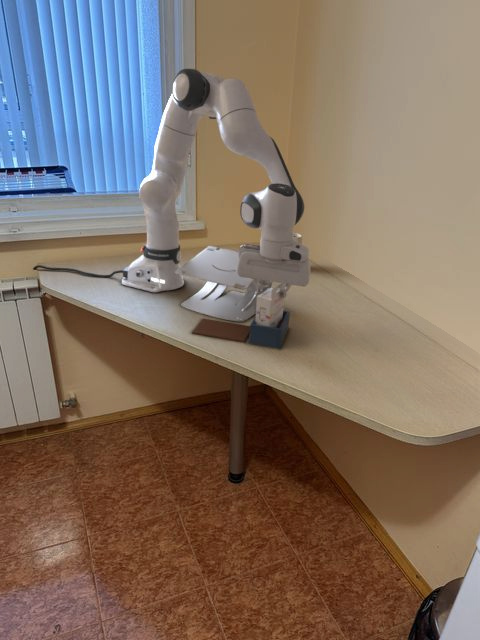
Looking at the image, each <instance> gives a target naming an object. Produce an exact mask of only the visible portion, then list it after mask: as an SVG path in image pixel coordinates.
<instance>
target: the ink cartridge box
mask: <svg viewBox="0 0 480 640" xmlns="http://www.w3.org/2000/svg"><path fill="white" fill-rule="evenodd" d="M285 285H286V284H284V283H279V284H278V285H276V286H275V287H271V288H269V289H268V290H266V291H265V292H263V293H262V294H260V295H258V296H257V304H256V313H255V316H256V320H255V325H262V326H268V327H274V328H280V326H281V324H282V318H283V310H284V308H285V307H284V306H285V299H286V298H281V297H280V295H281V294H280V293H281V290H285V289H286V287H285Z"/></svg>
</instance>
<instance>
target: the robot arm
mask: <svg viewBox="0 0 480 640" xmlns="http://www.w3.org/2000/svg"><path fill="white" fill-rule="evenodd" d="M252 99H253V98H252V97H251V94H250V92H249V90H248V88H247V85H245V83H244V81H242V80H240V79H239V78H233V77H231V78H227V79H224V78H223V77H221V76H218V75H216V74H214V73H209V72H206V71H205V72H204V71H200V70H198V69H195V68H183V69H181V70H179V71H178V72H177V73H176V75H175V76H174V78H173V81H172V84H171V96H170V98H169V99H168V101H167V104H166V106H165V109H164V111H163V114H162V118H161V122H160V124H159V128H158V129H159V130H158V133H157V137H156V140H155V144H154V155H153V163H152V169H151V172H150V174H149V175H148V176H146V177H145V178H144V179H143V180H142V182H141V184H140V187H139V190H138V196H139V197H138V198H139V200H140V202H141V205H142V211H143V215H144V219H145V228H146V243H145V244H144V245H143V246H142V247H141V248H140V252H141V253H143V254H142V255H140V256H138V257H137V258H136V259H135V260H134V261H132V262H130V264H129V265H127V266H125V268H124V269H119V270H115V271H113V272H111V273H109V274H97V273H92V272H87V271H83V270H80V269H75V268H70V267H69V268H68V267H51V266H47V265H46V266H45V265H42V264H39V265H38V264H37V265H35V266H34V267H33V268H32V270H37V269H38V268H40V269H44V270H48V271H68V272H75V273H79V274H82V275H86V276H91V277H96V278H113V276H114V275H116V274H122V279H121V285H123V286H126V287H132V288H135V289H139V290H142V291H146V292H150V293H160V292H165V291H173V290H177V289H179V288H182V287H183V286H184V285H185V281H184V278H183V275H180V274H177V273H175V271H176V270H177V269H179V268H180V267H181V260H182V259H181V258H182V252H181V245H180V222H179V220H178V215H177V210H176V209H177V208H176V199H177V198H178V197H179V196H180V194H181V191H182V188H183V185H184V180H185V176H186V171H187V168H188V167H187V165H188V161H189V158H190V154H191V151H192V149H193V148H192V147H193V144H194V140H195V137H196V134H197V130H198V126H199V124H200V121H201V119H203V118H204V117H208V118H209V119H210V120H216V123H217V127H218V130H219V135H220V138H221V140H222V142H223V144H224V146H225V147H226V148H227V149H228V150H229V151H231V152H232V153H234V154H236V155H238V156H241V157H244V158H247V159H249V160H253V161H254V162H256V163H258V164H260V165H261V166H262V167H263V169H264V170H265V172H266V174H267V176H268V179H269V181H270V183H271V184H268V185H266V188H264V189H261V190H258V191H252V192H249V193H247V194H245V196H244V197H243V199H242V201H241V203H240V209H239V210H240V211H239V212H240V213H239V215H240V218H241V220H242V222H243V223H244V225H246V226H247V227H248V228H251V229H259V230H260V231H261V232H260V240H259V245H258V244H250V243H244V244H242V245H240V246H239V248H238V250H237V251H238V255H239V258H240V259H239V264H238V270H237V273H238V275H239V276H240V277H245V278H252V279H254V280H253V283H254V285H255V286H256V288H257V291H256V293H257V294H262V292H263V287H261V286H260V284H259V280H265V281H271V282H272V283H277V284H282V283H284V284H285V290H281V293H280V294H281V295H280V297H281V298H285V299H286V298H287V293H288V291H289V290H290V289H291V287H292V285H293V286H297V287H298V286H299V287H307V286H308V285H309V283H310V280H311V261H310V259H309V253H310V249H309V248H308V247H307V246H305V245H303V244H299V243H297V242H295V241H293V239H294V235H293V233H294V227H295V226H296V225H297V224H298V223H299V222H300V221H301V219H302V218H303V216H304V213H305V203H304V199H303V197H302V195H301V193H300V192H299V190H298V189H297V187H296V185H295V184H294V181H293V178H292V176H291V174H290V171H289V169H288V167H287V164H286V162H285V160H284V158H283V155H282V153H281V151H280V148H279V146H278V145H277V143H276V141H275V140H274V138H273V137H271V136H270V135H269V134H268V133H267V131H266V130H265V128H264V127H263V126H262V124H261V121H260V120H259V117H258V113H257V111H256V108H255V104H254V102H253V100H252Z"/></svg>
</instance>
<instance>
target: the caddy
mask: <svg viewBox="0 0 480 640" xmlns="http://www.w3.org/2000/svg"><path fill="white" fill-rule="evenodd" d="M290 316H291V310H284V309H283V318H282V324H281V326H280V328H274V327H268V326H262V325H255V320H256V315H255V316H254V317H253V319H252V321H251V322H250V324H249V326H250V333H249V334H248V338H249V339H248V344H249V345H250V344H251V345H256V346H262V347H267V348H273V349H278V350H279V349H281V347H282V344H283V342H284V340H285V337H286V335H287V333H288V330H289V324H290Z"/></svg>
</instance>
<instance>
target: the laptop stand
mask: <svg viewBox="0 0 480 640" xmlns="http://www.w3.org/2000/svg"><path fill="white" fill-rule="evenodd" d="M238 251H239V250H233V249H229V248H224V247H222V248H221V247H218V246H214V245H208V246H207V247H206V248H204V249H203V250H202V251H200V252H199V253H197V255H195V256H194V257H192V258H191V259H190V260H188V261H187V262H186V263H184V264H183V265H182V266H180V268H179V269H177V270H176V271H175V273H177V274H180V275H182V276H185V277H189V278H193V279H197V280H201V281H205V282H206V283H205V284H204V286H203V287H202V288H201V289H200V290H199V291H197V293H195V294H193V295H192V296H190V297H189V298H187V299H186V300H184V301H183V302H182V303H181V307H183V308H185V309H187V310H190V311H193V312H195V313H197V314H201V315H205V316H209V317H213V318H216V319H221V320H226V321H230V322H236V323H240V322H241V323H242V322H247V320H249V319H251V317H253V316H254V315H256V304H257V296H258V295H260V294H257V293H256V291H257V288H256V286H255V285H254V283H253V280H254V279H252V278H245V277H240V276H239V275H238V273H237V270H238V264H239V259H240V258H239V255H238ZM259 284H260V286H261V287H263V292H265V291H266V290H268V289H269V288H272V286H273V282H271V281H265V280H259ZM228 287H230V288H234V289H237V290H242V291H243V290H244V291H245V290H246V291H245V293H244V292H239V291H236V290H229V291H228V292H226V293H225V294H224V292H225V291H226V289H227V288H228ZM263 292H262V293H263ZM222 294H223V295H222Z"/></svg>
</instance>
